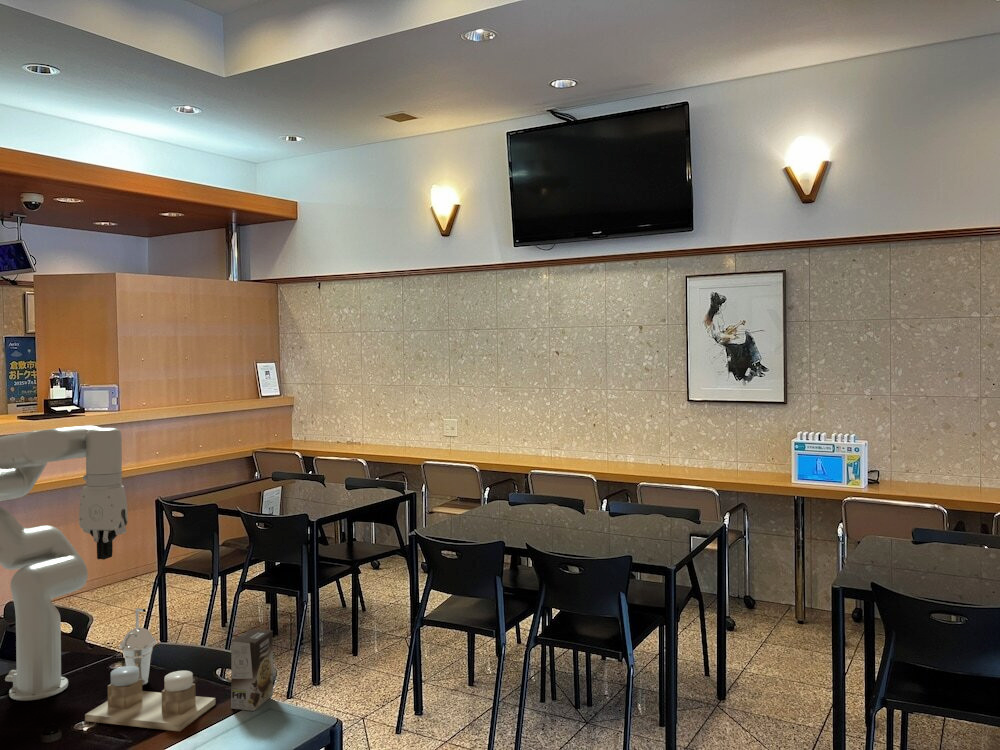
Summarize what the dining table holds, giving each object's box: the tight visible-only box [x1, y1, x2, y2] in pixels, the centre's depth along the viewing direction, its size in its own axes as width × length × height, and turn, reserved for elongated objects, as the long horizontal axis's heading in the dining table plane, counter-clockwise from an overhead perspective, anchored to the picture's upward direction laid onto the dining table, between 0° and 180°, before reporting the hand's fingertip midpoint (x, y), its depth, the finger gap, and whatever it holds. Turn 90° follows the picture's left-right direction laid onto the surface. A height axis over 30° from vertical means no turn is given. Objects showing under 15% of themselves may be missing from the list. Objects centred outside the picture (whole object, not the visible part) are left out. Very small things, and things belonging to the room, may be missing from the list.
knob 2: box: [164, 670, 194, 692], centre depth 181 cm, size 6×6×8 cm
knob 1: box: [110, 665, 139, 686], centre depth 184 cm, size 6×6×8 cm
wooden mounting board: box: [84, 678, 216, 732], centre depth 183 cm, size 24×14×6 cm, turn 78°
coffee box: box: [230, 628, 274, 712], centre depth 188 cm, size 9×6×16 cm
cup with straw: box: [119, 607, 157, 686], centre depth 199 cm, size 8×9×20 cm
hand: (104, 557), depth 186 cm, fingers closed
